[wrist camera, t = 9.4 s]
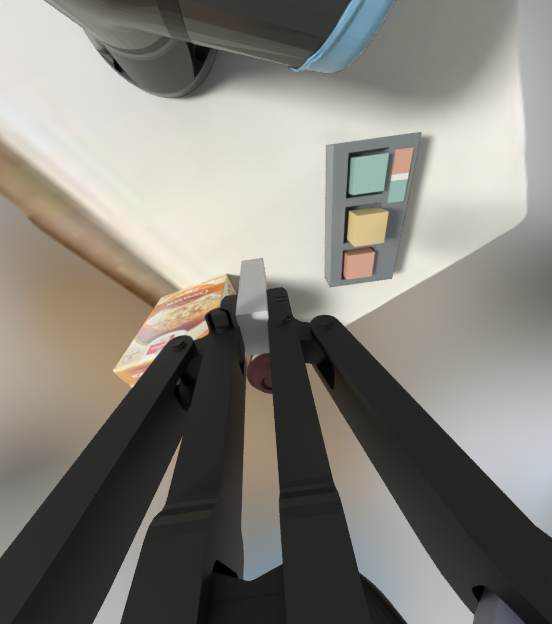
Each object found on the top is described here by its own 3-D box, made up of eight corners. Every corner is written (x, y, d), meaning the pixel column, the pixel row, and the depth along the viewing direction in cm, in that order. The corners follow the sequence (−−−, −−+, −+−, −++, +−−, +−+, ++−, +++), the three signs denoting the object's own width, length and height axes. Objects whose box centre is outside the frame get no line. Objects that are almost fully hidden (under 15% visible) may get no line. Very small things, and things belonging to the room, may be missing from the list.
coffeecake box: (226, 272, 45) (211, 339, 29) (241, 301, 49) (235, 373, 33) (159, 296, 46) (109, 371, 30) (178, 322, 50) (143, 400, 34)
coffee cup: (263, 351, 57) (265, 405, 45) (240, 326, 52) (235, 379, 40) (297, 334, 55) (310, 386, 43) (277, 306, 50) (284, 355, 38)
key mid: (349, 210, 36) (357, 215, 33) (378, 206, 36) (388, 211, 33) (347, 239, 38) (354, 246, 36) (374, 236, 38) (383, 242, 36)
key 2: (346, 157, 34) (355, 157, 31) (377, 152, 34) (389, 152, 31) (345, 191, 36) (352, 195, 34) (373, 187, 36) (383, 190, 33)
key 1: (341, 248, 42) (348, 255, 39) (366, 245, 42) (374, 252, 39) (340, 271, 44) (346, 279, 42) (363, 268, 44) (371, 276, 42)
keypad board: (326, 145, 34) (334, 144, 31) (405, 134, 34) (422, 131, 31) (324, 277, 47) (330, 287, 43) (382, 269, 47) (392, 279, 43)
